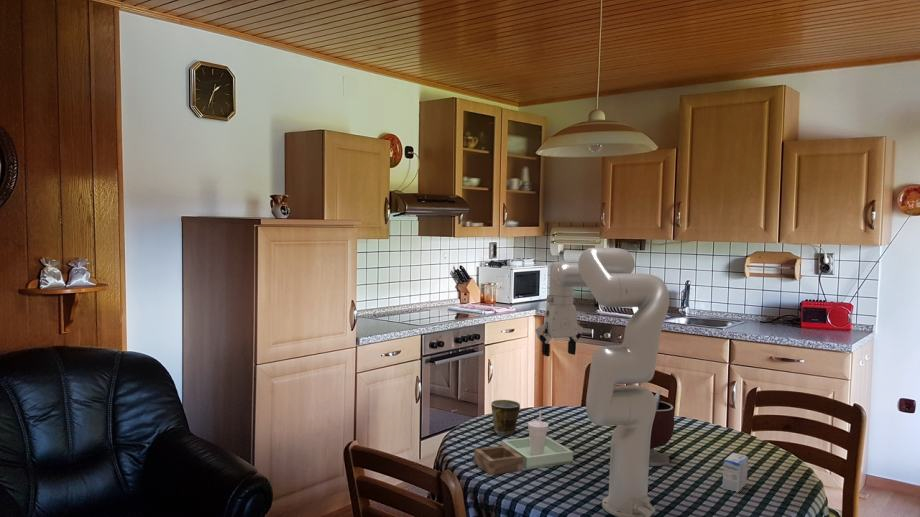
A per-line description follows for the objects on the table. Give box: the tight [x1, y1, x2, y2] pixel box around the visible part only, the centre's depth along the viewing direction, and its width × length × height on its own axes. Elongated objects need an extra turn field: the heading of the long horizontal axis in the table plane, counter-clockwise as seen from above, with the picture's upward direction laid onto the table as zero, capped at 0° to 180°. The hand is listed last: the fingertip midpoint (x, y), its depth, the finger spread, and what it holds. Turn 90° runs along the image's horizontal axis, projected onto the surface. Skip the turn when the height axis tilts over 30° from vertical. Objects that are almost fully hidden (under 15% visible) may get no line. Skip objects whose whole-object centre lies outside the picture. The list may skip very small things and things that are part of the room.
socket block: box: [473, 445, 523, 476], centre depth 191 cm, size 11×11×4 cm
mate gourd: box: [649, 389, 675, 467], centre depth 202 cm, size 16×14×20 cm
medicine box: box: [721, 452, 749, 493], centre depth 181 cm, size 8×4×9 cm, turn 141°
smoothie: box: [527, 409, 549, 456], centre depth 199 cm, size 6×6×14 cm
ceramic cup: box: [490, 399, 521, 436], centre depth 222 cm, size 13×10×10 cm
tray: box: [501, 435, 574, 470], centre depth 200 cm, size 16×16×4 cm
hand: (558, 354), depth 204 cm, fingers open, 9 cm apart
